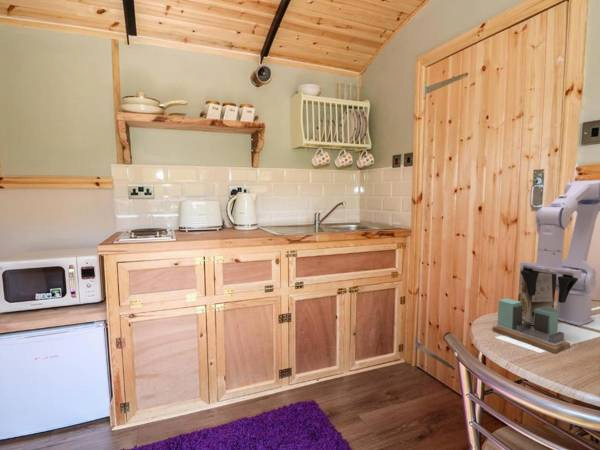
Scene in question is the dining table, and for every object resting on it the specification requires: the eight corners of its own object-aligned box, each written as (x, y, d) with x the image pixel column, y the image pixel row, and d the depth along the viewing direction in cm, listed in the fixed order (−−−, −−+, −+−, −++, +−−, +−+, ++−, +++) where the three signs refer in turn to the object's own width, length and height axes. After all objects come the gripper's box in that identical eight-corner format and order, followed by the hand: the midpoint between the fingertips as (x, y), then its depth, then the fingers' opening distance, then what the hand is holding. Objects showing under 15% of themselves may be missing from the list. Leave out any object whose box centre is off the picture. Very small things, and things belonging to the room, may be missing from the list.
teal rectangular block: (541, 330, 97) (542, 306, 97) (557, 335, 94) (558, 310, 93) (532, 333, 95) (533, 309, 95) (548, 338, 92) (549, 313, 91)
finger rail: (507, 326, 101) (508, 296, 100) (569, 347, 86) (571, 313, 86) (492, 330, 97) (493, 300, 97) (555, 353, 83) (556, 318, 82)
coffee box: (553, 327, 99) (558, 273, 98) (529, 325, 100) (533, 272, 99) (538, 316, 108) (542, 266, 107) (516, 314, 109) (519, 265, 108)
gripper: (514, 247, 98) (511, 293, 98) (573, 254, 85) (569, 307, 85) (528, 246, 101) (525, 291, 102) (587, 253, 88) (583, 304, 89)
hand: (546, 298), depth 94 cm, fingers open, 7 cm apart
